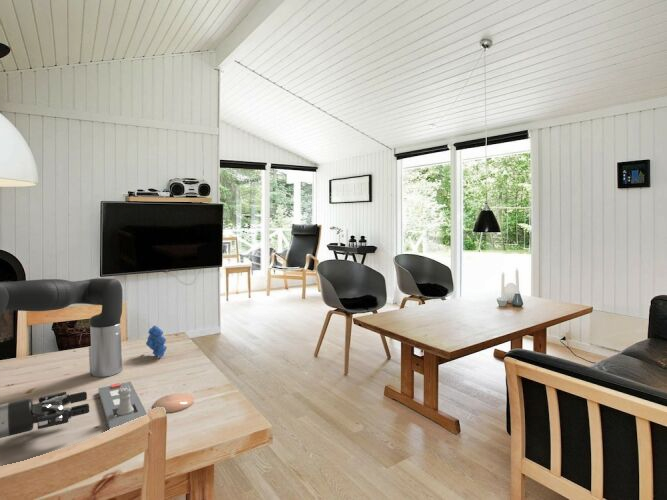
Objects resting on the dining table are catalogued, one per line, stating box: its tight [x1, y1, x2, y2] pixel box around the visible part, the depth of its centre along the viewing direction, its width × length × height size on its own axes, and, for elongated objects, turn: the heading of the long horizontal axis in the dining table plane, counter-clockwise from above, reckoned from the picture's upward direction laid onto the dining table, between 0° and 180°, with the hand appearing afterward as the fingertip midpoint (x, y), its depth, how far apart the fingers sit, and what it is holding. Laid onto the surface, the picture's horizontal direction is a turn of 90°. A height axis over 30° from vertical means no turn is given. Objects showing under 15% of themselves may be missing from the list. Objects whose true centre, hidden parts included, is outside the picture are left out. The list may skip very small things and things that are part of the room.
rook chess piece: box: [115, 386, 135, 418], centre depth 108 cm, size 4×4×8 cm
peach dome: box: [153, 392, 195, 414], centre depth 116 cm, size 11×11×1 cm
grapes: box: [145, 325, 167, 358], centre depth 155 cm, size 12×7×12 cm, turn 50°
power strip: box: [97, 381, 148, 429], centre depth 114 cm, size 30×9×2 cm, turn 36°
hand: (87, 401), depth 103 cm, fingers open, 8 cm apart
